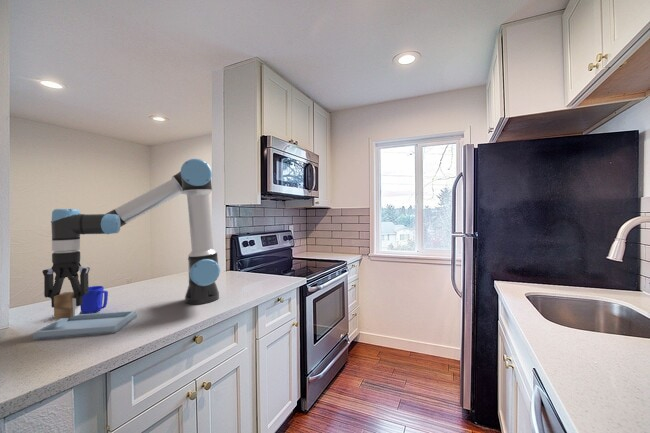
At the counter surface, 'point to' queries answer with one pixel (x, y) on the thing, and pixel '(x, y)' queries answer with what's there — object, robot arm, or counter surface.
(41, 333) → the tray
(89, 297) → the mug
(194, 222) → the robot arm
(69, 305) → the walnut block
